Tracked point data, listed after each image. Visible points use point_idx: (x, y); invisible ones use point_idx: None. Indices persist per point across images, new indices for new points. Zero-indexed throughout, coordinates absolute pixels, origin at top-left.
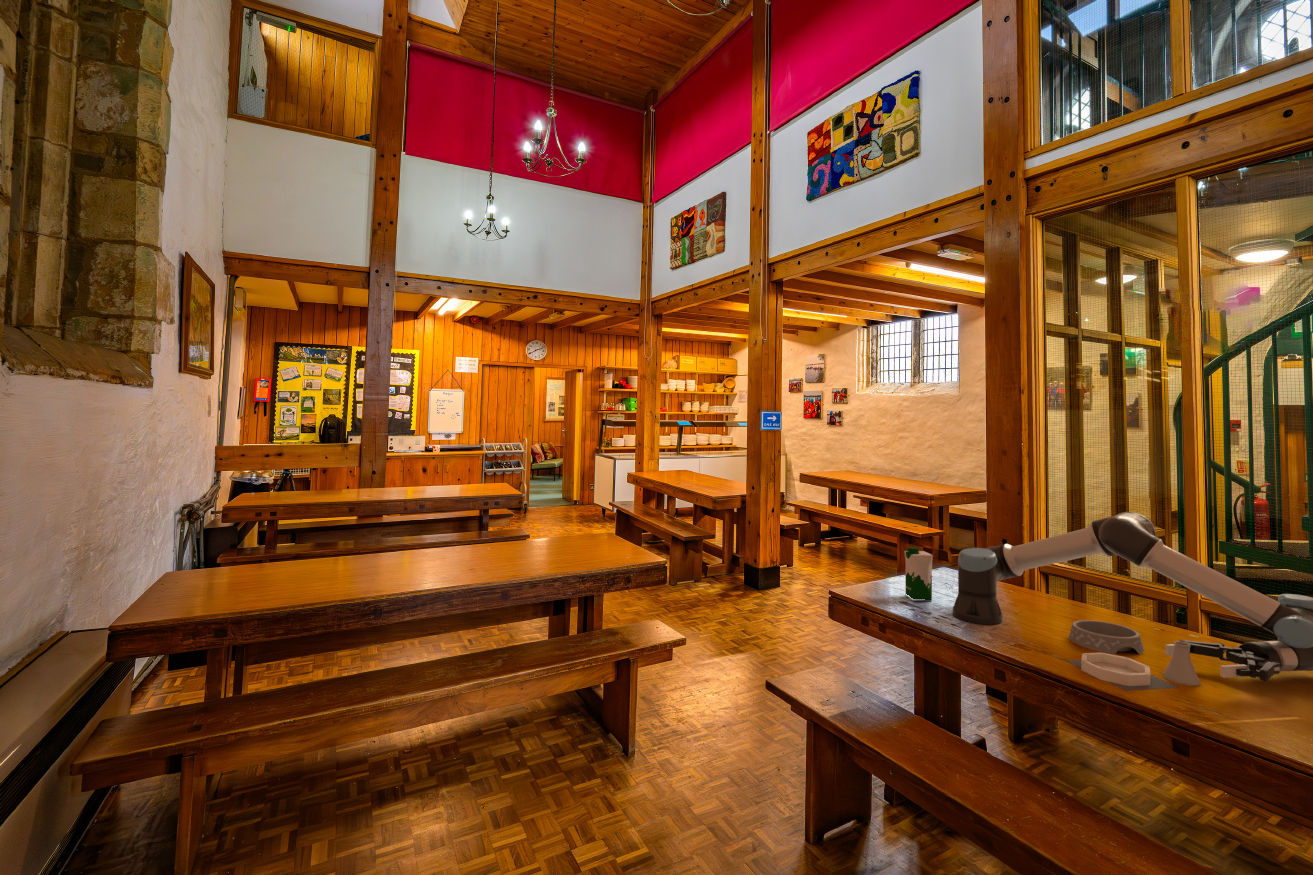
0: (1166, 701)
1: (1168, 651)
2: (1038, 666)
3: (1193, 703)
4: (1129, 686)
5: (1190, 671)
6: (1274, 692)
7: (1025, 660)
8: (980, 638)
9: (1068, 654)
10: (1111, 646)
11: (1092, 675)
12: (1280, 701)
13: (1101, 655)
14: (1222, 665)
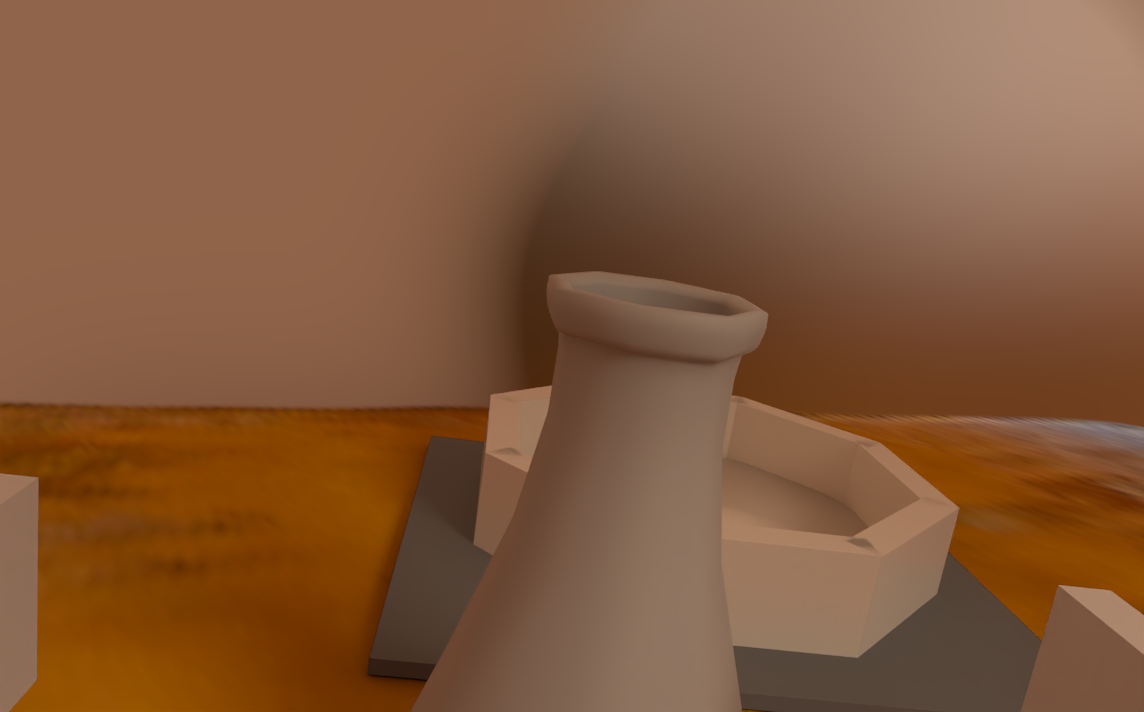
0: (243, 481)
1: (1027, 696)
2: None
3: (121, 552)
4: (474, 468)
5: (445, 667)
6: None
7: (841, 425)
8: (1128, 453)
9: (1073, 572)
10: None
11: None
12: None
13: (909, 504)
14: (12, 494)
